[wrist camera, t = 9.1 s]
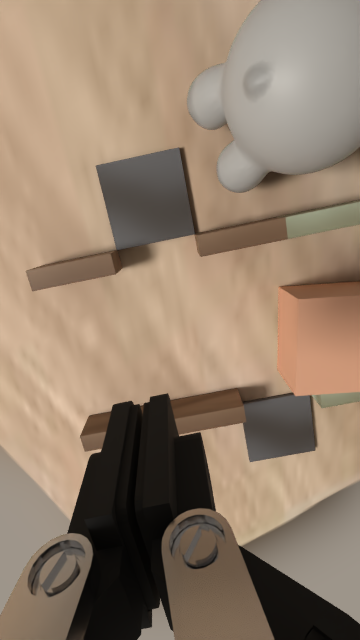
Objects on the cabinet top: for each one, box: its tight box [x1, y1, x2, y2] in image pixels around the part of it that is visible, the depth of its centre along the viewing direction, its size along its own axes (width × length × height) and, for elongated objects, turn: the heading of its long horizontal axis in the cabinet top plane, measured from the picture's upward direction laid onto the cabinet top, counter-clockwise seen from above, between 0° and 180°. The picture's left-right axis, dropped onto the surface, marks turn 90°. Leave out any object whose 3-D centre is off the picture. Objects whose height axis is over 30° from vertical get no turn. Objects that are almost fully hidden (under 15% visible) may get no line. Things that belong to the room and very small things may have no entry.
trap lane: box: [26, 148, 360, 462], centre depth 22 cm, size 22×22×2 cm
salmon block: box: [277, 281, 360, 396], centre depth 22 cm, size 6×6×4 cm
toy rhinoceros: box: [187, 0, 360, 193], centre depth 16 cm, size 7×12×8 cm, turn 113°
